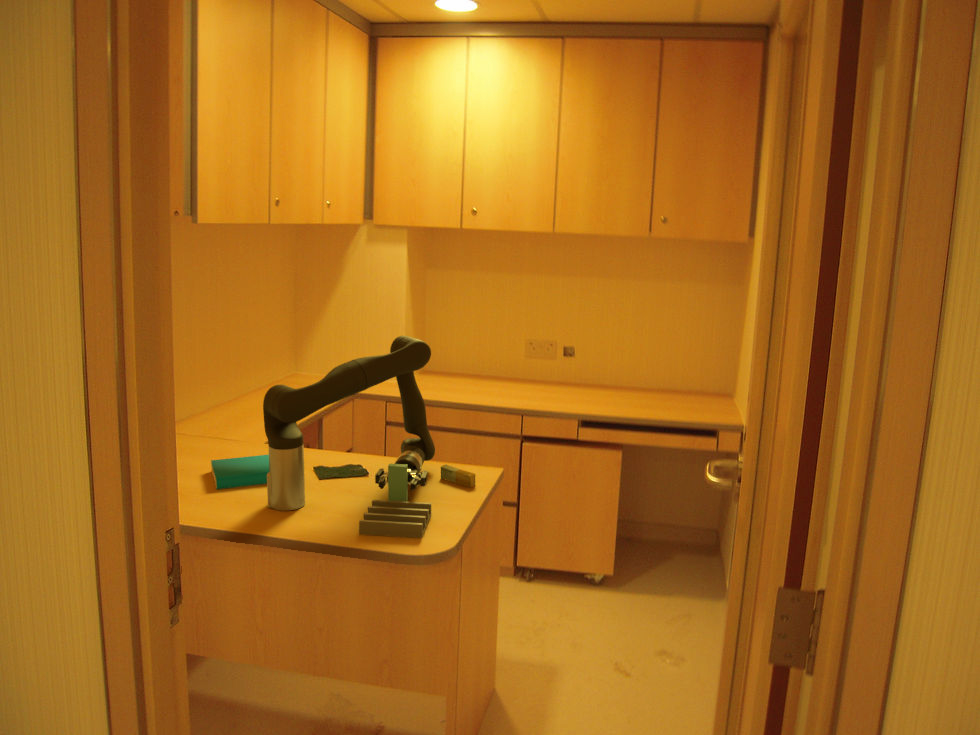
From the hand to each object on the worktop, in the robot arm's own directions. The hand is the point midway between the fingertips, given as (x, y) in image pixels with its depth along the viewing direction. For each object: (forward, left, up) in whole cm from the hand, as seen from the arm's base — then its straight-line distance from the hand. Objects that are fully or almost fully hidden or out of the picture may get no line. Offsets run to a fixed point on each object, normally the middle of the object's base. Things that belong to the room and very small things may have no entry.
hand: (396, 486), depth 224 cm
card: (0, +2, -7) cm, 7 cm away
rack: (+2, -10, -7) cm, 12 cm away
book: (-47, +20, -7) cm, 51 cm away
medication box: (+14, +24, -7) cm, 28 cm away
